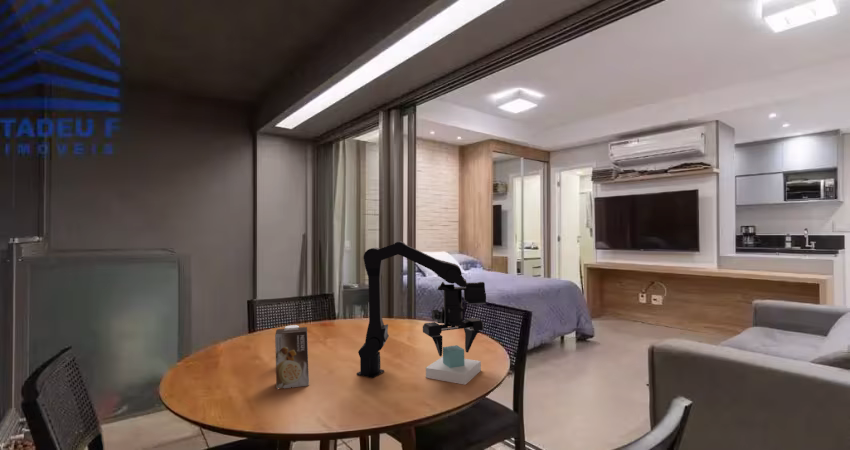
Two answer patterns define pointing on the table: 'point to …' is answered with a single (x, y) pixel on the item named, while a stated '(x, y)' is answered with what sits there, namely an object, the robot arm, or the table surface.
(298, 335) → the coffee box
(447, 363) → the teal block
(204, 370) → the table surface
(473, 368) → the grey base
